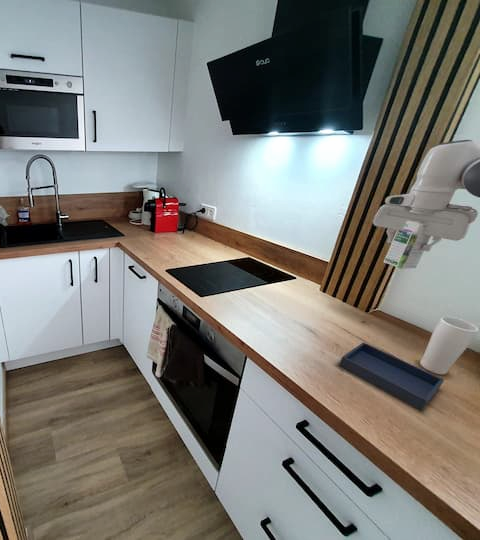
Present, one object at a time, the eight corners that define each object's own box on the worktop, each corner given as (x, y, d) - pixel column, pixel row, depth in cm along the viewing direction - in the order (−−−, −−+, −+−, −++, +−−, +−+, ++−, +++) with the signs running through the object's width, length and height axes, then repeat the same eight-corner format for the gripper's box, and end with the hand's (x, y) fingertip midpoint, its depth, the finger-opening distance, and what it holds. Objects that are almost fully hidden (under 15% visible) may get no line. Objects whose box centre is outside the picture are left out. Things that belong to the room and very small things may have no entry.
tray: (438, 388, 73) (444, 379, 71) (421, 410, 66) (427, 401, 65) (359, 350, 86) (363, 341, 85) (338, 365, 80) (342, 356, 78)
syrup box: (382, 262, 93) (400, 218, 87) (398, 261, 93) (417, 218, 88) (399, 269, 88) (420, 222, 82) (416, 268, 88) (438, 222, 82)
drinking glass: (416, 357, 84) (440, 313, 78) (449, 369, 79) (477, 324, 73) (415, 368, 79) (441, 322, 73) (450, 381, 75) (480, 334, 69)
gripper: (484, 206, 76) (458, 255, 81) (388, 195, 92) (372, 236, 97) (478, 208, 73) (452, 259, 78) (380, 196, 89) (364, 239, 94)
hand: (407, 246), depth 88 cm, fingers closed on syrup box, 7 cm apart
